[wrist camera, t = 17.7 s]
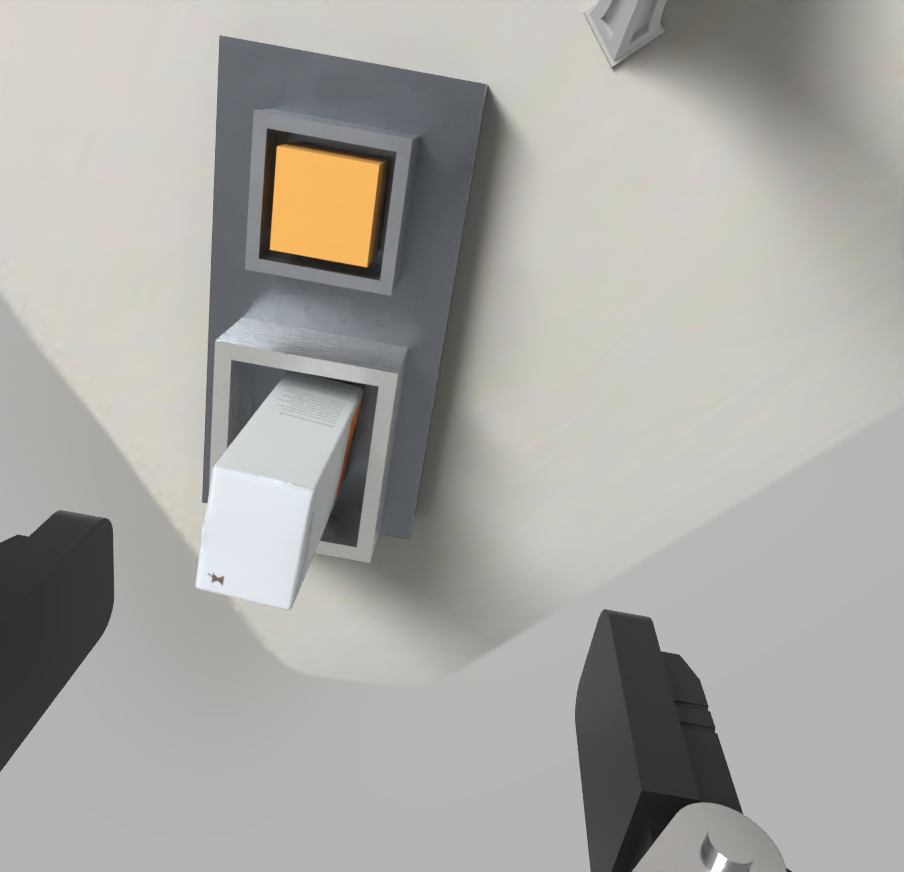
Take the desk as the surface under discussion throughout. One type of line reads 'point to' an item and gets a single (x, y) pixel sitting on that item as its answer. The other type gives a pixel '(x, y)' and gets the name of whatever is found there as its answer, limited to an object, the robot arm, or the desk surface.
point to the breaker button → (328, 203)
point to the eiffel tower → (625, 25)
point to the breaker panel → (339, 265)
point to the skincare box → (277, 490)
